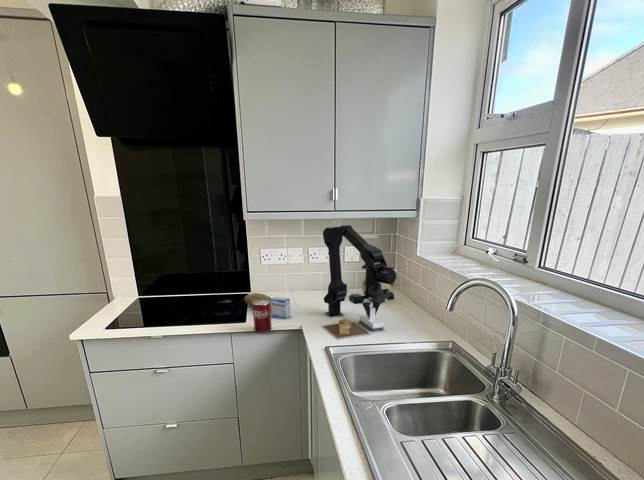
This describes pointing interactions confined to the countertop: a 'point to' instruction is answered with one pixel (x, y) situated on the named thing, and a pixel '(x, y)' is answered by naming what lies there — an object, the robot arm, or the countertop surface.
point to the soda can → (262, 316)
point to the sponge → (257, 298)
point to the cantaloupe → (383, 286)
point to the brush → (371, 321)
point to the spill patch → (352, 331)
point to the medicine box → (280, 307)
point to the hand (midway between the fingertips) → (371, 316)
